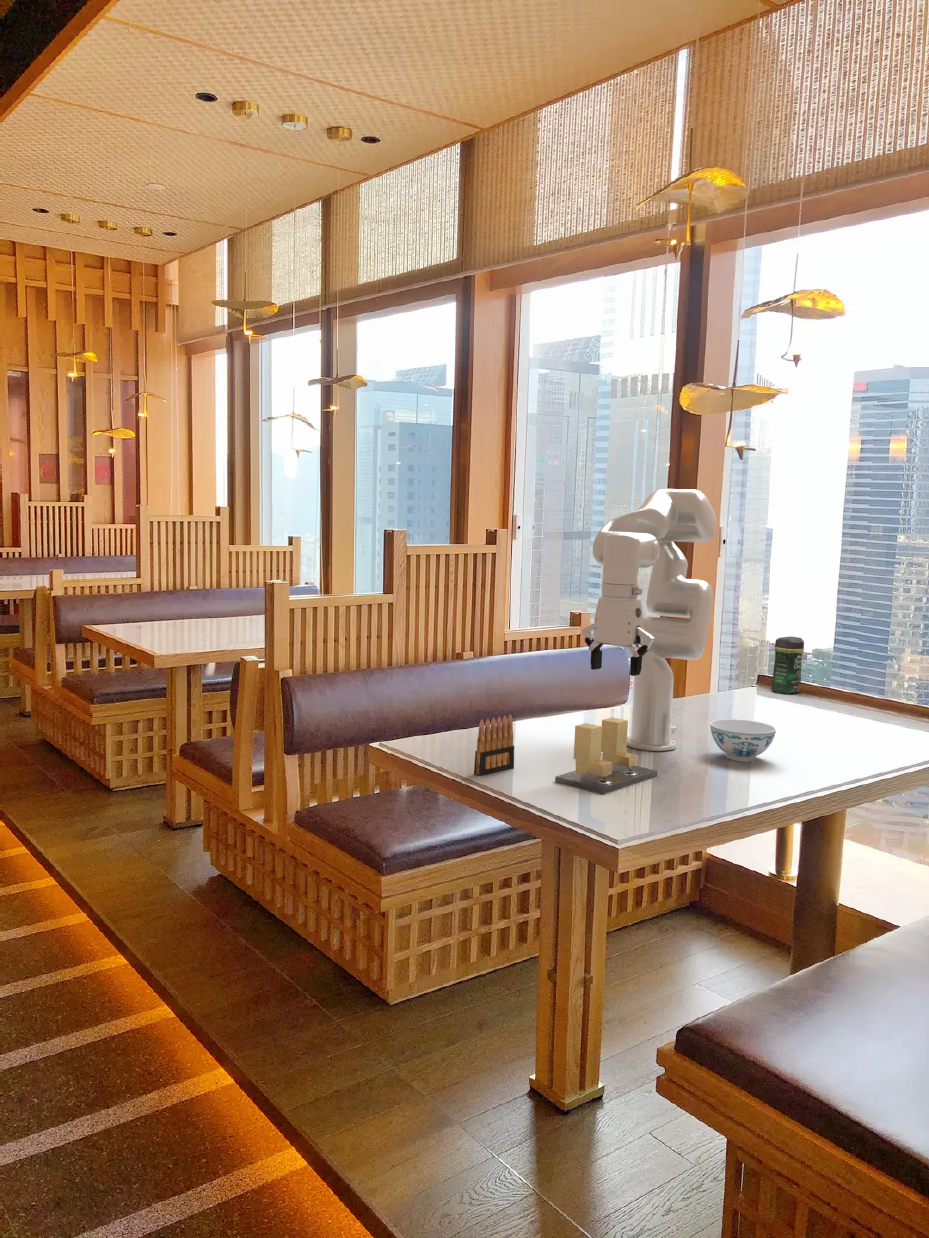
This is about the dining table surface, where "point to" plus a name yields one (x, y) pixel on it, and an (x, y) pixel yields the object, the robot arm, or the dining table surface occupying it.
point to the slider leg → (616, 743)
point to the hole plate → (612, 777)
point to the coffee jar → (787, 664)
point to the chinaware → (742, 738)
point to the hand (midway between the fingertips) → (615, 672)
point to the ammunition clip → (494, 747)
